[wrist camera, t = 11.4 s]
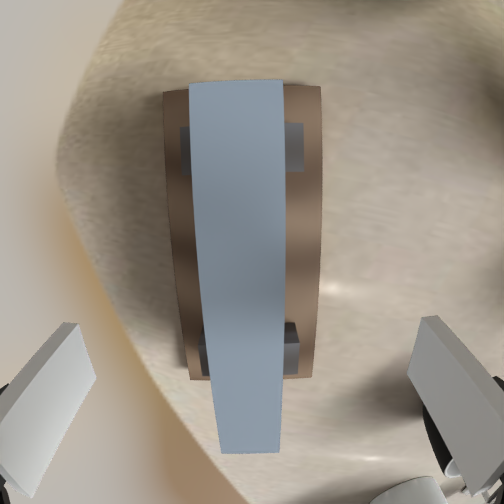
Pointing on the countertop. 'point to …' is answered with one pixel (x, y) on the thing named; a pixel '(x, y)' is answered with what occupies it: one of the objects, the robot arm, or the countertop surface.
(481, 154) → the countertop surface
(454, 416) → the robot arm
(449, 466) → the mug
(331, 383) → the countertop surface
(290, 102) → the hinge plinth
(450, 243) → the countertop surface
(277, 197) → the door panel
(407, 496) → the utensil holder
